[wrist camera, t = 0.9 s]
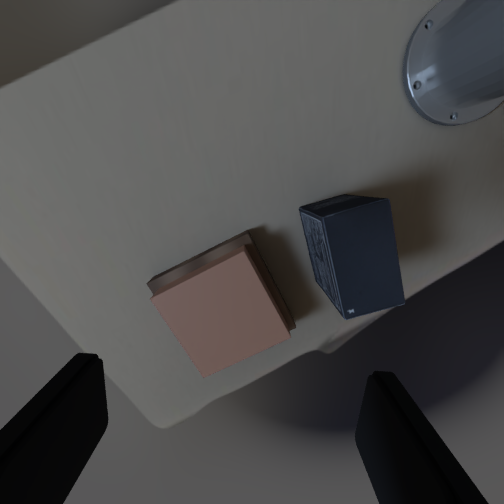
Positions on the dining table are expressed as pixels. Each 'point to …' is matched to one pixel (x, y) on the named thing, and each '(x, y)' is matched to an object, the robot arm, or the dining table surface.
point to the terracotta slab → (222, 312)
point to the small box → (354, 253)
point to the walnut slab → (216, 253)
